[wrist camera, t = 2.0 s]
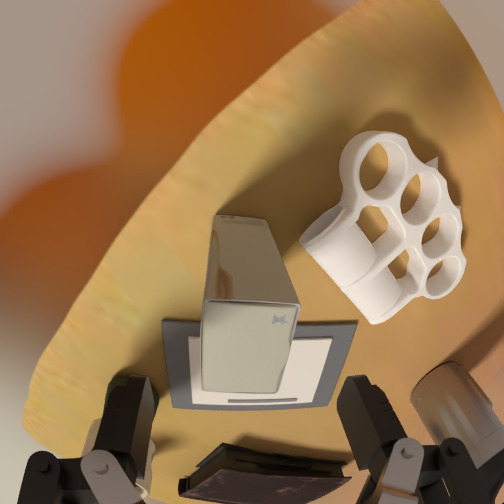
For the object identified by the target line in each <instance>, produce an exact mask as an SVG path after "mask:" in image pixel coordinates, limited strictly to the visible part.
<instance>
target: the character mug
mask: <svg viewBox="0 0 504 504" xmlns="http://www.w3.org/2000/svg"><path fill="white" fill-rule="evenodd" d="M127 381H128V378H125V377H120V378H114V379H113V380H112V381H111V382H110V383H109V384H108V388H107V393H106V398H105V404H104V410H105V407H106V403H107V400H108V397H109V394H110V393H111V392H112V391H113V390H114V389H115V388H116V386H124V387H126V384H127ZM151 389H152V388H151ZM152 393H153V398H154V416H153V419H154V417H155V414H156V411H157V407H158V404H159V396H158V394H157V392H156V390H154V389H152ZM103 413H104V411H103ZM103 415H104V414H103ZM101 419H102V418H99V419H96V420H94V421H93V423H92V425H91V427H90V429H89V432H88V435H87V438H86V442H85V445H84V448H83V451H82V455H81V457H83V456H85V455H86V454H87V453H88V452H90V451H91V450H92V448H93V447H94V444H95V440H96V437H97V433H98V430H99V426H100V423H101ZM154 455H155V444H154V443H153V441H152V439H151V438H150V441H149V448H148V455H147V462H146V469H145V477H144V480H143V479H137V478H136V485H135V489H136V491H137V492H138V493H139V495H140V496H141V498H144V497H147V496H148V495H149V493H150V487H151V480H152V469H151V463H152V460H153V457H154Z"/></svg>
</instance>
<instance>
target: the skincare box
mask: <svg viewBox="0 0 504 504" xmlns="http://www.w3.org/2000/svg"><path fill="white" fill-rule="evenodd" d="M299 311H300V302H299V300H298V297H297V295H296V292H295V290H294V287H293V285H292V282H291V280H290V277H289V275H288V272H287V270H286V267H285V265H284V262H283V260H282V258H281V255H280V253H279V250H278V248H277V245H276V243H275V241H274V238H273V236H272V233H271V231H270V228H269V226H268V224H267V221H266V220H265V219H259V218H251V217H241V216H229V215H214V217H213V221H212V229H211V237H210V246H209V254H208V263H207V272H206V281H205V289H204V298H203V306H202V315H201V327H200V374H201V390H202V391H208V392H223V393H244V394H276V393H277V392H278V391H279V388H280V385H281V382H282V378H283V375H284V371H285V367H286V364H287V361H288V357H289V353H290V349H291V344H292V340H293V336H294V332H295V328H296V324H297V320H298V315H299Z"/></svg>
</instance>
